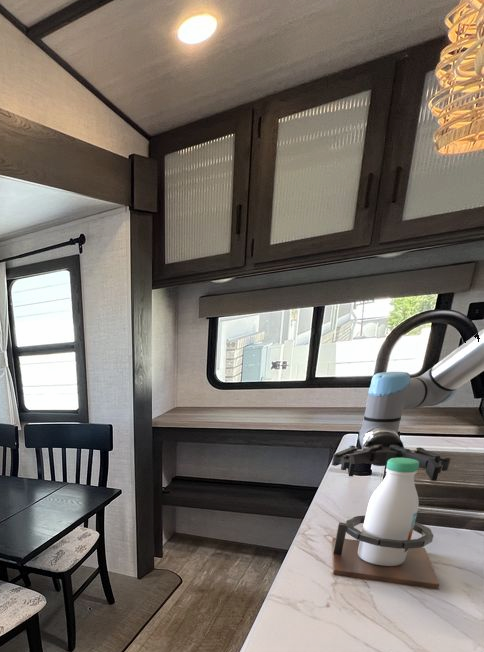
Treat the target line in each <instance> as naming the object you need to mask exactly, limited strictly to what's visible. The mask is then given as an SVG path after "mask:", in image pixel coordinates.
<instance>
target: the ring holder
mask: <svg viewBox="0 0 484 652" xmlns="http://www.w3.org/2000/svg"><path fill="white" fill-rule="evenodd" d="M365 516H366V514H365V515H357V516H353V517H351V518H349V519H347V520H346V521H345V522H338V524H337V528H336V529H337V530H336V535H335V537H332V539H331V552H332V553H331V554H332V574H333V575H336V576H345V577H350V578H358V579H364V580H372V581H379V582H384V583H385V582H386V583H392V584H400V585H407V586H414V587H421V588H427V589H434V590H439V589H440V587H441V585H440V582H439V579H438V577H437V574H436V572H435V569H434V566H433V564H432V562H431V560H430V557H429V555H428V553H427V550H426V548H425V546H427V545H429V544H431V543H432V542H433V539H434V534H433V532H432V530H431V528H430V527H428V526H426V525H424V524H423V523H422V524H421V523H419V522H417V521H415V524H414V528H413V532H416V533H418V534H420V535H421V536H420V537H418V538H414V539H411V540H392V539H383V538H378V537H375V536H371V535H368V534H364V533H362V530H359V529H357V528H356V527H357V526H358V525H360V524H364V520H365ZM346 534H348V535H349V536H351V537H352V538H353V539H350V538H346ZM360 541H362V542H366V543H369V544H373V545H376V546H378V545H379V546H381V547H390V548H398V549H402V548H403V549H408V551H407V555H406V558H405V561H404V562H403V563H402V564H400V565H396V566H382V565H376V564H372V563H369V562H367V561H365V560H363V559H361V558H360V557H359V555H358V547H359V543H360Z"/></svg>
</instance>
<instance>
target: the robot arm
mask: <svg viewBox="0 0 484 652" xmlns="http://www.w3.org/2000/svg"><path fill="white" fill-rule="evenodd" d="M477 333H478V335H479V338H480V339H479V342H478V339H477V337H476V338H475V337H474V336H475V335H473V336H471V337H470V338H469V339H468V340H466V341H465V342H466V343H465V342H464V343H462V344H461V345H459V347H457V348H456V349H454V350H453V351H452V352H451V353H449V354H447V356H445V357H443V358H442V359H441V360H440V361H438V362H437V363H436V364H434V365H433V366H432V367H431V368H429V369H428V370H427V371H425V372H424V373H423V374H421V375H419V376H415V377H411V374H410V373H409V372H406V371H385V372H384V371H383V372H377V373H375V374H374V375H373V376H372V377H371V382H370V386H369V389H368V390H367V393H368V395H367V400H366V405H365V411H364V416H363V420H362V424H361V428H360V430H359V433H358V437H357V438H358V441H359V445H360V447H361V449H360V448H359V447H357V446H356V445H349V447H347V448H345V449H343V450H341V451H340V450H339V451H338V452H335V453H333V456H332V461H331V466H334V467H337V466H339V465H340V466H341V467H340V470H341V471H347V474H348V477H354V473H355V468H356V465H360V464H370V465H372V466H376V467H387V462H388V460H389V459H391V458H410V459H414V460H417V461H419V467H418V469H419V468H420V469H423V470H425V473H426V474H427V476H428V477H429V479H430V480H431V481H432V482H437V480H438V476H439V474H442V471H443V472H447V471H449V467H450V463H451V458H450V457H449V456H448V457H447V456H445V455H441V454H439V453H435V452H432V451H428V450H426V449H424V448H423V447H416V448H415V449H414V450H412V451H411V449H410V448H405V446H404V443H403V441H402V440H401V437H400V436H399V434H398V433H399V428H400V424H401V420H402V416H403V412H404V411H406V410H412V409H418V408H426V407H434V406H438V405H440V404H444V403H446V402H448V401H450V400H451V399H452V398H453V397H454V396H455V394H456V392H457V390H458V389H459V388H460V387H462V386H463V385H464V384H466V383H468V382H469V381H470V380H472V379H474V378H475V377H477V376H478V375H480V374H481V373H482V372H484V328H483V329H481V330H480V331H478V332H477Z"/></svg>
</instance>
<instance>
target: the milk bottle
mask: <svg viewBox="0 0 484 652" xmlns="http://www.w3.org/2000/svg"><path fill="white" fill-rule="evenodd" d="M418 470H419V461H417V460H414V459H410V458H391V459H389V460H388V462H387V466H386V469H385V472H386V473H385V477H384V478H383V480H382V481H381V483H380V484H379V485H378V486H377V488H376V489H375V490H374V491H373V493H372V495H371V496H370V497H369V501H368V504H367V507H366V512H365V515H366V516H365V515H364V516H365V520H364V523H362V524H363V526H362V530H361V532H362V533H364V534H368V535H371V536H375V537H378V538H383V539H392V540H412V536H413V532H414V530H413V528H414V524H415V522H416V520H417V515H418V511H419V506H420V505H419V504H420V502H419V500H420V499H419V495H418V491H417V488H416V483H415V475H416V474H417V473H418ZM407 551H408V549H403V548H402V549H398V548H390V547H381V546H379V545H378V546H376V545H373V544H369V543H366V542H362V541H360V543H359V547H358V555H359V557H360V558H361V559H363V560H365V561H367V562H369V563H372V564H376V565H382V566H396V565H400V564H402V563H403V562H404V561H405V558H406V555H407Z"/></svg>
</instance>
